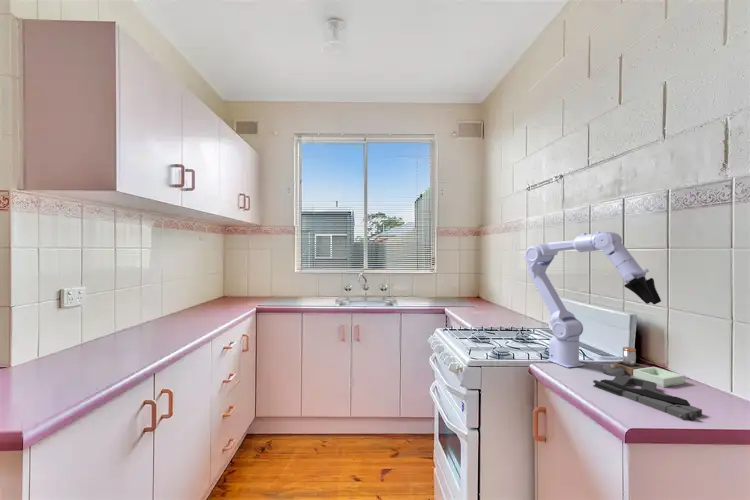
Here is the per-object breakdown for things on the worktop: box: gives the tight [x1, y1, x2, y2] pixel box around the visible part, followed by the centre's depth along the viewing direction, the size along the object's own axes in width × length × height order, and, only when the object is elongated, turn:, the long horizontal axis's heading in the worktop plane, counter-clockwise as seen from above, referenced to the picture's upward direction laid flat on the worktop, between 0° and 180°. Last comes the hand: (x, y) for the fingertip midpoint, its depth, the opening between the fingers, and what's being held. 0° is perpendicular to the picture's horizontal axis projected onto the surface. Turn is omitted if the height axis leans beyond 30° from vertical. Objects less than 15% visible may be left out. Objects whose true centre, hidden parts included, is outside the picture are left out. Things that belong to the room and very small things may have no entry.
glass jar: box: [622, 346, 637, 367], centre depth 127 cm, size 4×4×8 cm
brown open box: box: [602, 360, 648, 377], centre depth 126 cm, size 7×14×3 cm, turn 109°
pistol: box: [592, 375, 703, 422], centre depth 105 cm, size 2×26×15 cm
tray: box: [632, 366, 685, 388], centre depth 118 cm, size 9×9×2 cm
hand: (654, 302), depth 112 cm, fingers open, 7 cm apart
